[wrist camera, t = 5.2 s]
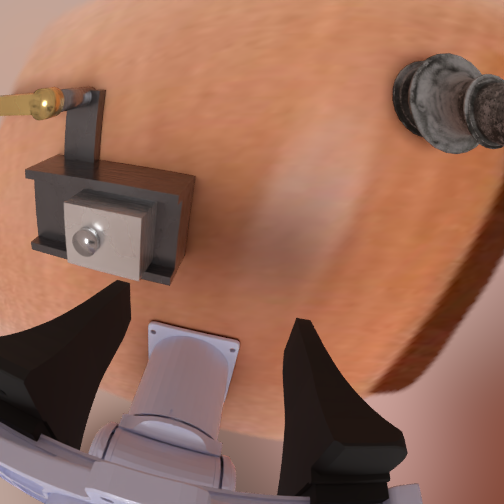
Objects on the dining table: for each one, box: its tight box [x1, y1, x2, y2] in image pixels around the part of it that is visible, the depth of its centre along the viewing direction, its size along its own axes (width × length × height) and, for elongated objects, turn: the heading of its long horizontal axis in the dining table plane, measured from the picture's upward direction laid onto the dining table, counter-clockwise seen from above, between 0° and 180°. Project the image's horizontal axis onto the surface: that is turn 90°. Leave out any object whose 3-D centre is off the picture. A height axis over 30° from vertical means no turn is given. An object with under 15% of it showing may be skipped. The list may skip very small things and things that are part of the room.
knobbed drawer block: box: [64, 188, 157, 281], centre depth 18 cm, size 4×5×3 cm
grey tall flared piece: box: [393, 53, 504, 154], centre depth 12 cm, size 6×6×12 cm
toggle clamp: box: [25, 87, 196, 286], centre depth 19 cm, size 11×11×4 cm
